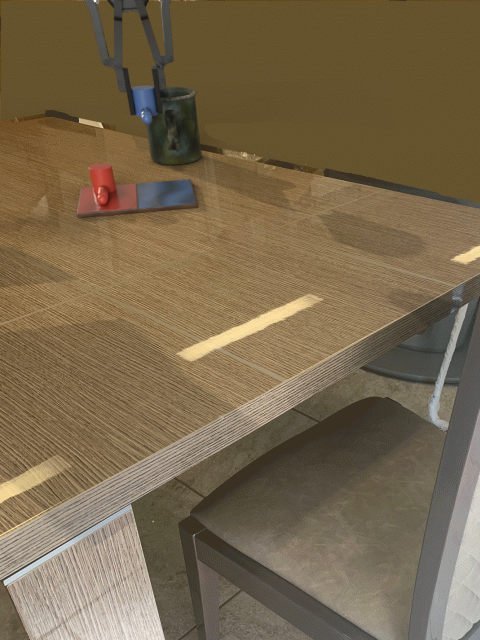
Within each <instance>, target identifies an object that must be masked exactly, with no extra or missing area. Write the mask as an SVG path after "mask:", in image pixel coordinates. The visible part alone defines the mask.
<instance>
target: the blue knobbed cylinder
mask: <svg viewBox="0 0 480 640" xmlns="http://www.w3.org/2000/svg"><path fill="white" fill-rule="evenodd" d="M131 92H132V98H133V104H134V109H135V115H134V116H135V117H138V118H141V121H142V123H143V124H144V125H145V126H146V125H149V124H151V123H152V116H155V115H158V108H157V102H156V95H155V89H154V85H136V86H131Z"/></svg>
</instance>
